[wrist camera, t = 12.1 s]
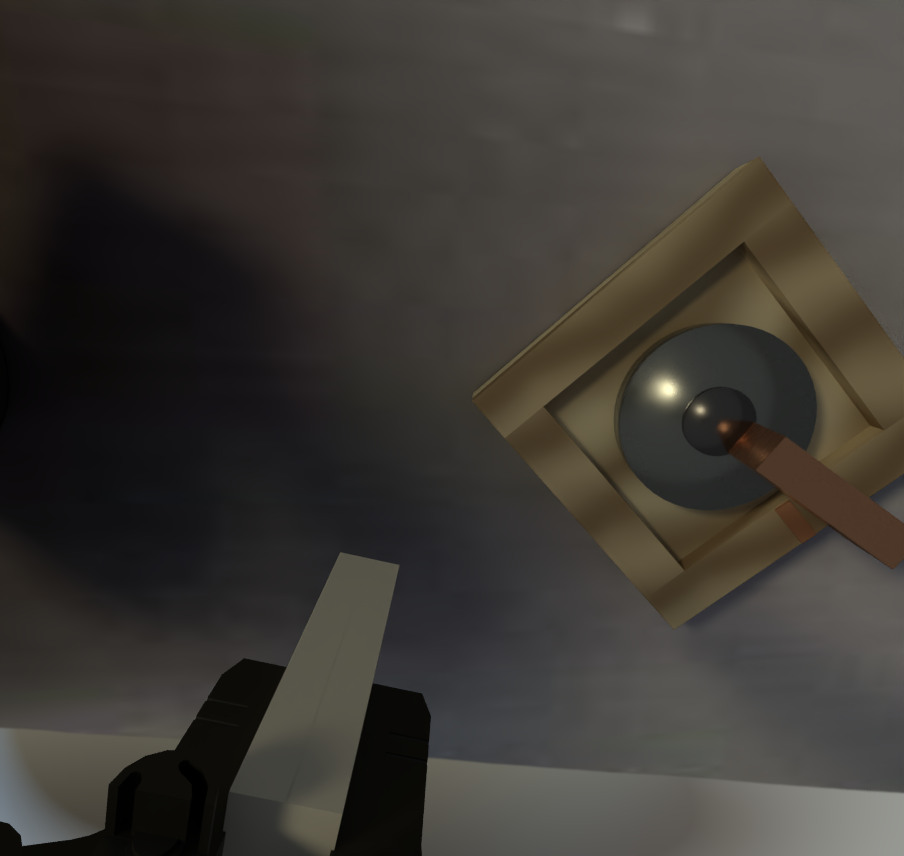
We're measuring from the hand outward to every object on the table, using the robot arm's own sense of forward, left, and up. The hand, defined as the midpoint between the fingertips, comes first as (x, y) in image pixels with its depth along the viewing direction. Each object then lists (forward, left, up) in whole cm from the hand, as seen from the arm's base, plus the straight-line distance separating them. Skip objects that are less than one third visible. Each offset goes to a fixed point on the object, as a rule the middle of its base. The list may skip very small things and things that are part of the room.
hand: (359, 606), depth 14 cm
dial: (+13, +14, -21) cm, 28 cm away
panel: (+10, +13, -23) cm, 28 cm away
